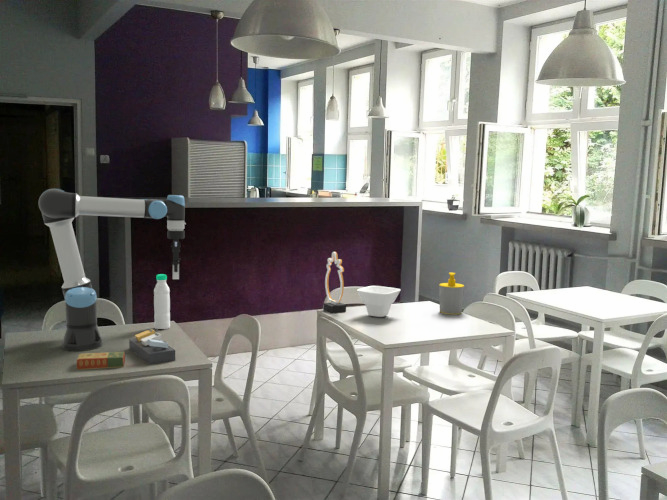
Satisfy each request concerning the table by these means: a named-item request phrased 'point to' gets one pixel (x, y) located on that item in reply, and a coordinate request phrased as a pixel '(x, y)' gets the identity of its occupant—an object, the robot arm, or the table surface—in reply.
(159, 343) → the rocker blue
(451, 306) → the soap bottle
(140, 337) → the rocker amber
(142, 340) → the rocker white
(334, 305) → the lamp
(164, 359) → the power strip
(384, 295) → the bowl
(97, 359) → the carton
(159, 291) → the water bottle
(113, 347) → the table surface
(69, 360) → the table surface
